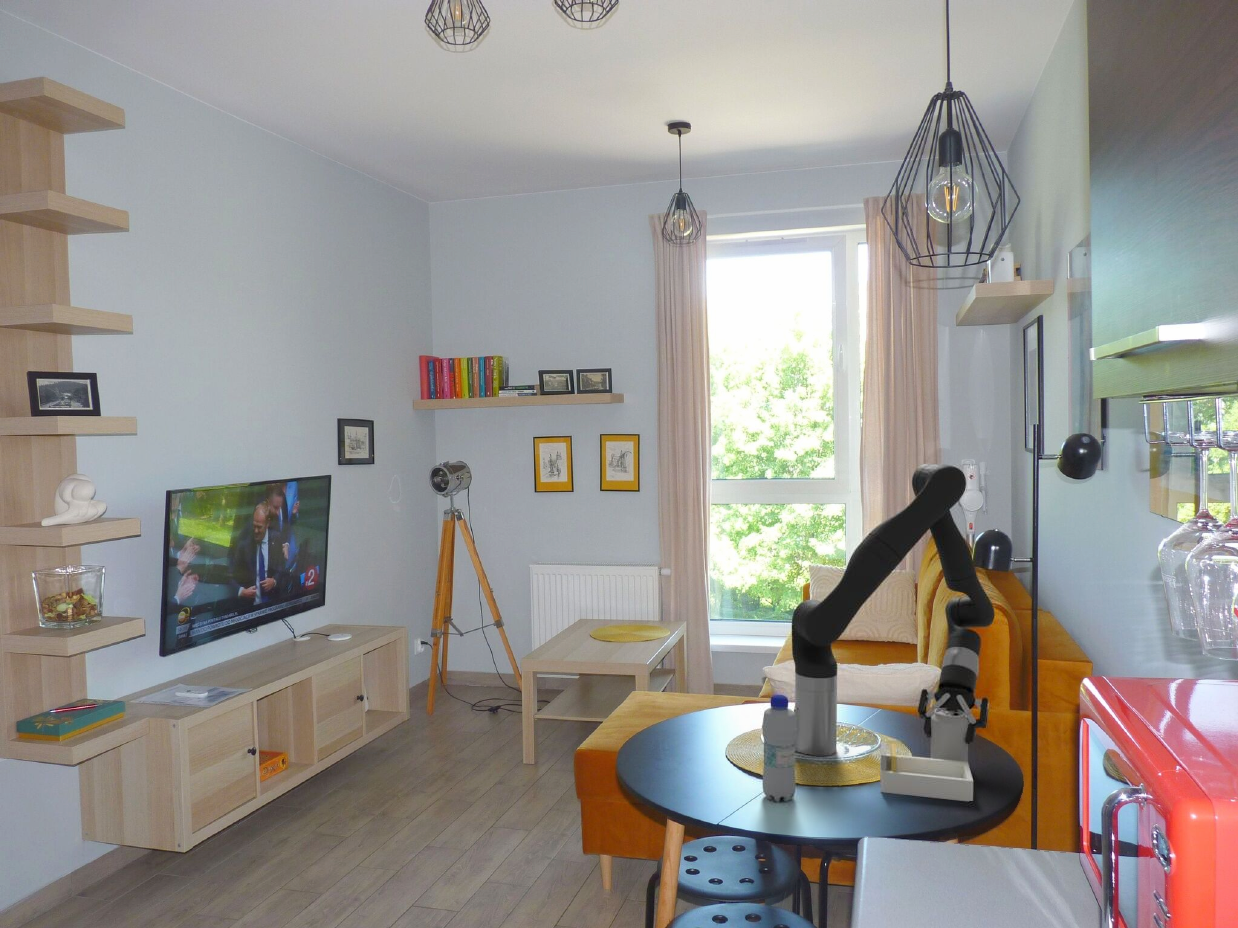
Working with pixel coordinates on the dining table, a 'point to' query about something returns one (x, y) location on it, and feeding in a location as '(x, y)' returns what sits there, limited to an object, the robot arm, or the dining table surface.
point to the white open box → (926, 777)
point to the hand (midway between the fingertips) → (948, 738)
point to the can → (949, 735)
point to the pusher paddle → (893, 758)
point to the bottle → (779, 749)
